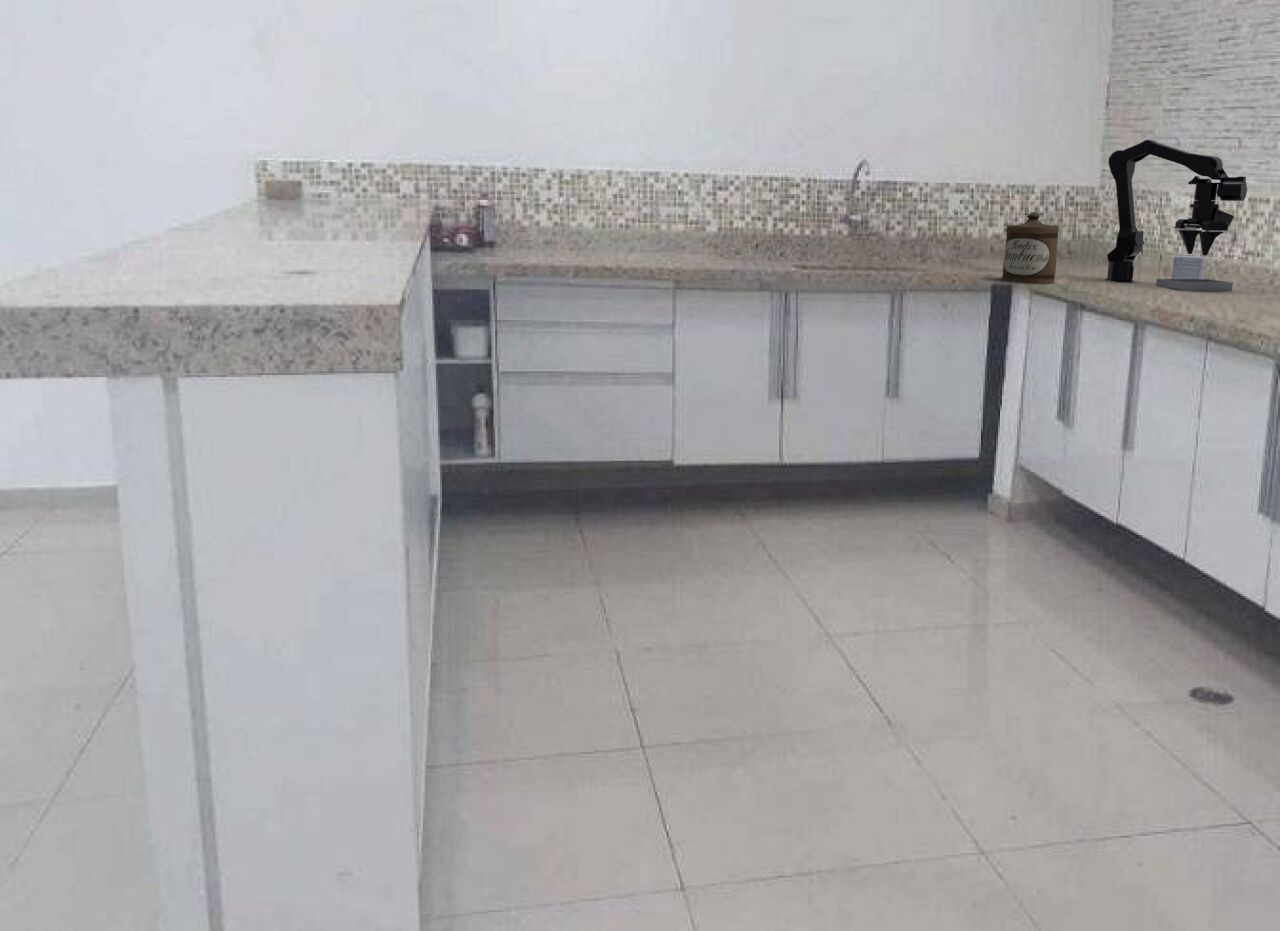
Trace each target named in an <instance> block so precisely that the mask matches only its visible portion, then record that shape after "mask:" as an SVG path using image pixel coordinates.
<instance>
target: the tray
mask: <svg viewBox="0 0 1280 931" xmlns="http://www.w3.org/2000/svg"><path fill="white" fill-rule="evenodd" d="M1155 282H1156V283H1155V286H1156V285H1157V286H1158V287H1161V288H1166V289H1170V290H1175V291H1179V292H1180V291H1183V292H1185V291H1187V292H1232V291H1233V285H1234V284H1233V283H1234V282H1232V281H1225V280H1216V279H1210V278H1201V279H1172V278H1156V281H1155Z"/></svg>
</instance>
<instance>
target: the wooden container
mask: <svg viewBox="0 0 1280 931" xmlns="http://www.w3.org/2000/svg"><path fill="white" fill-rule="evenodd" d="M1026 217H1027V220H1026V221H1025V222H1024V223H1021V224H1011V225H1010V224H1009V225H1007V226H1006V231H1005V232H1006V233H1005V234H1006V235H1005V236H1006V240H1005V249H1004V256H1003V264H1002V265H1003V266H1002V278H1001V280H1002V281H1006V282H1012V283H1013V282H1014V283H1019V284H1020V283H1021V284H1022V283H1023V284H1032V285H1033V284H1034V285H1035V284H1036V285H1053V284H1055V280H1056V278H1055V276H1056V268H1057V260H1058V259H1057V257H1058V255H1057V254H1058V241H1059V240H1058V239H1059V231H1060V229H1059V225H1051V224H1044V223H1043V222H1041V221H1040V217H1041V215H1040V213H1038V212H1036V211H1031V212H1030V213H1028V214H1027V215H1026Z"/></svg>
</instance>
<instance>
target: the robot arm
mask: <svg viewBox="0 0 1280 931" xmlns="http://www.w3.org/2000/svg"><path fill="white" fill-rule="evenodd" d="M1150 155H1151V156H1154V157H1158V158H1160V159H1163V160H1167V161H1169V162H1173V163H1175V164H1178V165H1181V166H1184V167H1185V168H1187V169H1189V170H1191V172H1194V173H1195V174H1197V175H1195V176H1194V177H1193V178H1192V179H1191V180H1190V181H1188V185H1195V190H1194V196H1193V203H1190V204H1189V208H1192V211H1191V218H1190V217H1188V218H1178V219H1177V220H1176V221H1175V224H1174V229H1178V230H1177V231H1178V232H1179V235H1180V236H1181V239H1182V241H1183V244H1184V246H1185V249H1186V252H1187V254H1188V255H1192V254H1193V251H1194V249H1195V245H1196V240H1197V236H1198V235H1199V241H1200V248H1201V254H1202V257H1204V256H1205V257H1206V256H1208V254H1209V253H1210V252H1209V251H1210V250H1211V248H1212V246H1213V245H1214V244H1213V243H1214V242H1215V240H1216V239H1217V237H1219V236H1220V235H1222V234H1224V231H1226V232H1227V231H1229V227H1230V226H1231V224H1232V221H1233V220H1234V218H1235V216H1234V215H1232V214H1230V213H1229V212H1227V211H1226V212H1225V211H1223V210H1220V209H1219V208H1220V205H1219V204H1218V203H1216V202H1217V200H1216V199H1217V198H1219V199H1220V201H1221V202H1222V201H1223V202H1227V201H1229V202H1244V201H1245V199H1246V197H1247V193H1248V186H1247V184H1248V183H1247V177H1246V176H1237V177H1236V176H1231V177H1230V176H1229V175H1228V174H1227V173H1226V171H1225V169H1224V168H1223V167H1224V166H1223V164H1224V163H1223V161H1222V159H1221V158H1220V157H1218V156H1216V155H1215V156H1214V155H1207V154H1199V153H1192V152H1189V151H1185V150H1182V149H1179V148H1176V147H1173V146H1170V145H1167V144H1164V143H1162V142H1158V141H1156V140H1155V139H1154V140H1153V139H1145V140H1142V142H1139V143H1138V144H1135V145H1133V146H1130V147H1127V148H1125V149H1123V150H1121V149H1120V150H1116V151H1115V150H1114V151H1113V152H1112V153H1111V154H1110V156H1108V161H1107V162H1108V167H1109V170H1110V174H1111V175H1112V178H1113V179H1114V182H1115V189H1116V200H1117V201H1116V202H1117V213H1118V224H1119V229H1118V233H1117V236H1116V241H1115V242H1116V243H1115V247H1114V248H1113V249H1112V250H1111V251H1110V252H1109V253H1108V254H1107V255H1106V257H1107V262H1108V265H1107V266H1108V268H1107V275H1106V276H1107V277H1106V278H1105V279H1106V280H1105V281H1108V280H1110V281H1109V282H1113V281H1115V282H1117V283H1119V282H1121V283H1122V282H1123V283H1124V282H1125V283H1127V282H1128V283H1131V282H1134V279H1133V278H1134V270H1135V267H1134V265H1133V264H1134V261H1135V259H1136V257H1137V256H1138V255H1140V253H1141V252H1142V251H1143V248H1144V245H1145V241H1144V231H1143V230H1138V228H1137V226H1136V217H1135V215H1136V214H1135V203H1134V193H1133V192H1134V191H1133V190H1134V189H1133V176H1134V174H1135V170H1136V164H1137V163H1139V162H1140V161H1142V160H1144V159H1145V158H1147V157H1148V156H1150ZM1198 175H1199V176H1198ZM1200 176H1201V177H1208V178H1201V177H1200ZM1213 180H1215V181H1219V182H1212V181H1213ZM1115 282H1114V283H1115Z"/></svg>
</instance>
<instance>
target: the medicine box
mask: <svg viewBox="0 0 1280 931" xmlns="http://www.w3.org/2000/svg"><path fill="white" fill-rule="evenodd" d="M1173 258H1174V259H1173V266H1172V273H1171V279H1203V277H1202V276H1203V268H1204V261H1205V257H1204V256H1191V255H1190V256H1189V255H1186V256H1185V255H1177V256H1174V257H1173Z"/></svg>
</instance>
